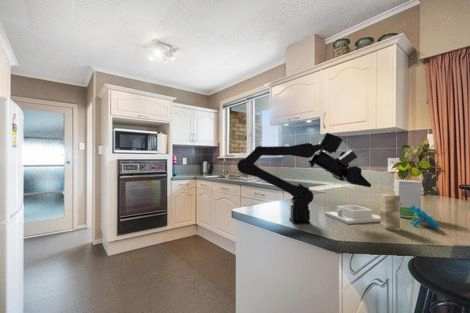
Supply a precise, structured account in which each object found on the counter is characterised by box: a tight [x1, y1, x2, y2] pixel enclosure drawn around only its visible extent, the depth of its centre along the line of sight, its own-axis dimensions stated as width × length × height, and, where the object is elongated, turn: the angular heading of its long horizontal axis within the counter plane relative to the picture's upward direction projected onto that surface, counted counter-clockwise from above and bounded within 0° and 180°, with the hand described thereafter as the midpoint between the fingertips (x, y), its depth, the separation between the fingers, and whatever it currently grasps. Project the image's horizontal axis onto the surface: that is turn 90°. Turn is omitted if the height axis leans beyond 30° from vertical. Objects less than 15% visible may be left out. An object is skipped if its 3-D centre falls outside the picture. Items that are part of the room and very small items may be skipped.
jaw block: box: [380, 193, 401, 231], centre depth 82 cm, size 4×4×12 cm
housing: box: [324, 204, 381, 225], centre depth 96 cm, size 18×14×4 cm
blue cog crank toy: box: [409, 206, 440, 229], centre depth 84 cm, size 11×6×10 cm
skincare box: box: [394, 179, 422, 219], centre depth 99 cm, size 8×7×16 cm
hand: (365, 184), depth 86 cm, fingers open, 9 cm apart
